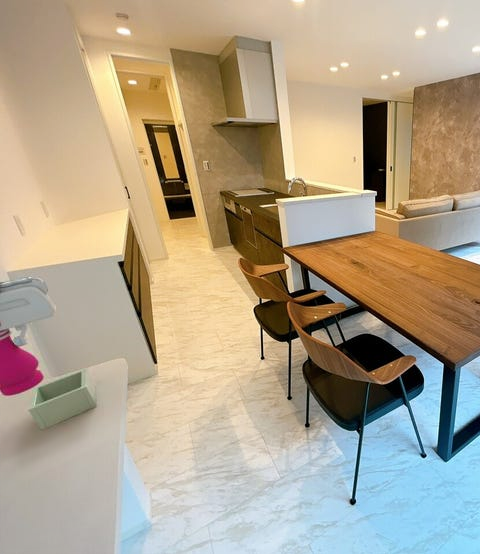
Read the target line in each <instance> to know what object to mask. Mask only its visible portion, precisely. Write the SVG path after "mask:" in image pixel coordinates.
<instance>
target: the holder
mask: <svg viewBox="0 0 480 554" xmlns="http://www.w3.org/2000/svg"><path fill="white" fill-rule="evenodd" d="M95 387H96V385H95V383H94V381H93V379H92V377H91V375H90V374H89V372H88V370H87V368H83V369H81V370H78V371H75V372H73V373H70V374H67V375H63V376H62V377H59V378H56V379H53V380H50V381H48V382H45V383H43V384H40V385H36V386H35V387H33V388H32V392H31V397H30V402H29V405H28V411H29V413H30V415H31V416H32V418H33V419H34V421H35V422H36V423H37V425H38V427H39V428H40V430H41V431H43V430H46V429H47V428H50V427H52V426H54V425H57V424H59V423H61V422H63V421H65V420H68V419H71V418H73V417H75V416H77V415H80V414H82V413H84V412H87V411H89V410H91V409H93V408H96V407H98V406H97V390H96V389H97V388H96V389H95Z"/></svg>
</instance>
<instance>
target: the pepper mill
mask: <svg viewBox="0 0 480 554" xmlns="http://www.w3.org/2000/svg"><path fill="white" fill-rule="evenodd" d="M0 326H1V323H0ZM11 334H12V331H11V330H10V328H9V329H6V330H2V331H0V393H1V394H2V395H3V396H4V397H5V396H6V397H9V396H10V397H11V396H16V395H19V394H22V393H25V392H27V391H29V390H31V389H33V388H35V387H37V386H39V384H41V383H42V382H43V380H44V378H45V377H44V375H43V373H42V371H41V370H40V369H38V367H39V360H38V359H37V357H35V355H34V354H32V353H30V352H28V351H27V350H26V349H25V350H24V349H23V348H21V346H19V347H17V346H16V343H15V342H14V341H13V340H12V337H11Z"/></svg>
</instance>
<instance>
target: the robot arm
mask: <svg viewBox="0 0 480 554" xmlns="http://www.w3.org/2000/svg"><path fill="white" fill-rule="evenodd" d="M48 291H49V288H48V286H47V284H46V282H45V281H44V280H43V279H41V278H38V277H31V276H24V277H21V278H17V279H10V280H6V281H0V323H1V326H0V331H2V330H6V329H9V330H10V329H13V328H14V329H15V330H16V332H19V331H20V333H19V335H18V336H14V338H13V340H12V341H13V342H14V344H16V346H17V347H22V346H23V347H24V346H26V345H29V340H28V338H27V336H26V333H27V329H28V324H31V323H34V322H39V321H42V320H45V319H50V318H53V317H54V316H55V314H56V313H57V310H58V307H57V306H56V304H55V302H54V301H53V299H52V297H50V295H49V294H48Z"/></svg>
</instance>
